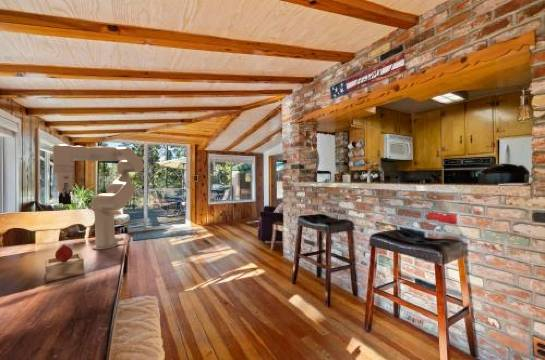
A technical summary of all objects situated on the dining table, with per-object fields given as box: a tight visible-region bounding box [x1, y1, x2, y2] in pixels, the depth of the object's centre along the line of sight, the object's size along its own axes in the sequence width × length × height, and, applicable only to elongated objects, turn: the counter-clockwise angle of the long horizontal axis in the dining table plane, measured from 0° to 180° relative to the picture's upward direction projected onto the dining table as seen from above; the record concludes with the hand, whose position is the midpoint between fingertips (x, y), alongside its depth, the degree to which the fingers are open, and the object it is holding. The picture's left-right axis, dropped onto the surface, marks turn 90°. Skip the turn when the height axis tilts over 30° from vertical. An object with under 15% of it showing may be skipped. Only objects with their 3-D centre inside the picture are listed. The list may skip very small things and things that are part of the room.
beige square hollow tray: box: [44, 252, 85, 282], centre depth 106 cm, size 12×12×6 cm
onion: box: [54, 243, 74, 262], centre depth 106 cm, size 6×6×8 cm
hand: (64, 203), depth 123 cm, fingers open, 9 cm apart
